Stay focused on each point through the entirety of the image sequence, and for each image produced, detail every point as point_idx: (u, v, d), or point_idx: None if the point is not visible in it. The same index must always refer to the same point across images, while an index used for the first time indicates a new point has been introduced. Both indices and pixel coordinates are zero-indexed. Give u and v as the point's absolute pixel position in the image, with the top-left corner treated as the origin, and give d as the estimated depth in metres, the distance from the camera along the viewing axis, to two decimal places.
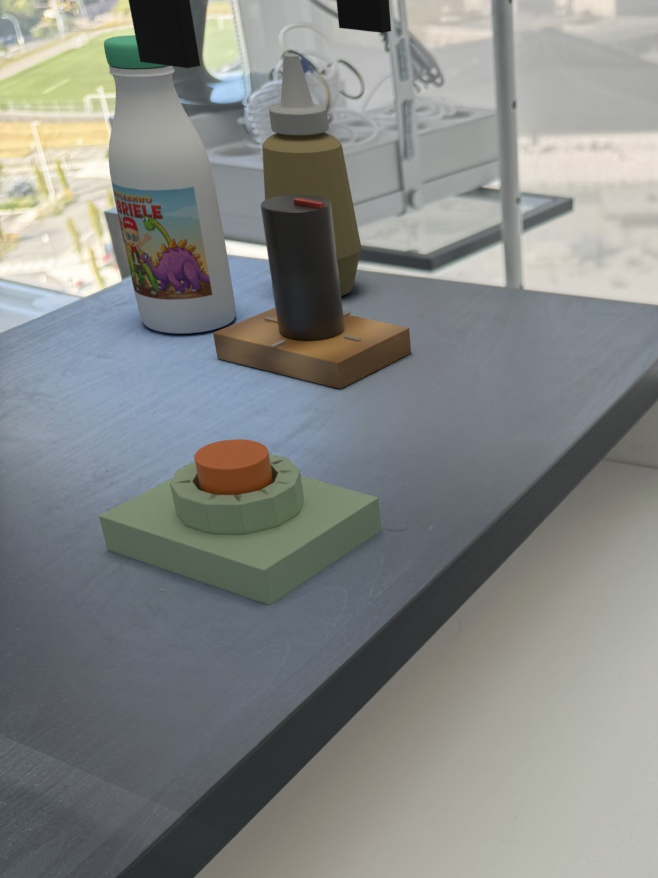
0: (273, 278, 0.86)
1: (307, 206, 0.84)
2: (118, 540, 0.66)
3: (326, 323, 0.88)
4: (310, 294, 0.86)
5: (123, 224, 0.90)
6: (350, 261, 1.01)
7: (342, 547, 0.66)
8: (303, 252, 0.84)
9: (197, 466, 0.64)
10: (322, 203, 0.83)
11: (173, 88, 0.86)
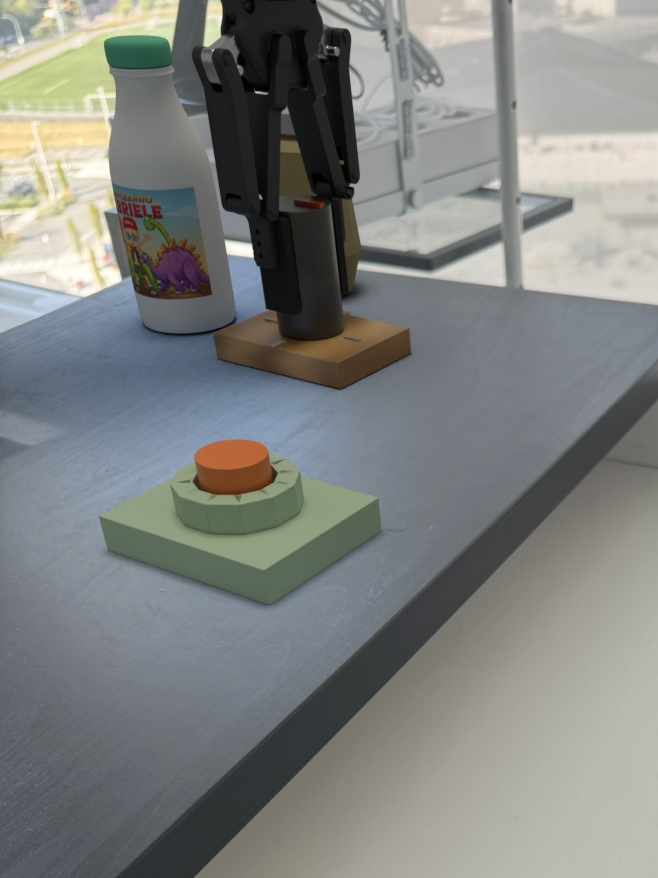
0: None
1: (307, 206, 0.84)
2: (118, 540, 0.66)
3: (326, 323, 0.88)
4: (310, 294, 0.86)
5: (123, 224, 0.90)
6: (350, 261, 1.01)
7: (342, 547, 0.66)
8: (303, 252, 0.84)
9: (197, 466, 0.64)
10: (322, 203, 0.83)
11: (173, 88, 0.86)
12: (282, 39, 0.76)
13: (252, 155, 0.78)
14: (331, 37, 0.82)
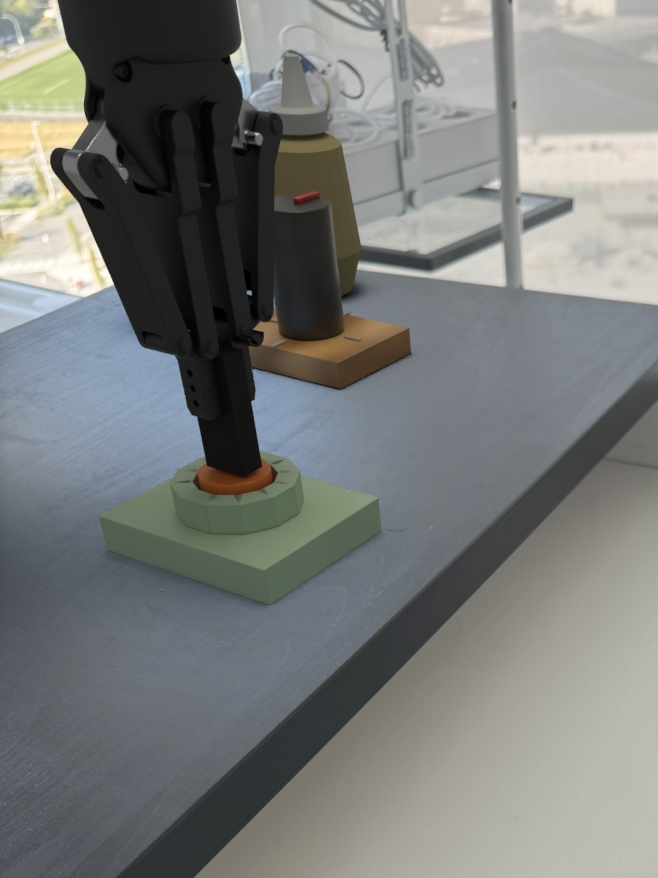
0: (318, 282, 0.86)
1: (312, 199, 0.85)
2: (118, 540, 0.66)
3: None
4: (339, 281, 0.89)
5: None
6: (350, 261, 1.01)
7: (342, 547, 0.66)
8: None
9: (200, 483, 0.64)
10: (315, 192, 0.86)
11: None
12: (176, 118, 0.52)
13: (165, 280, 0.55)
14: (254, 122, 0.58)
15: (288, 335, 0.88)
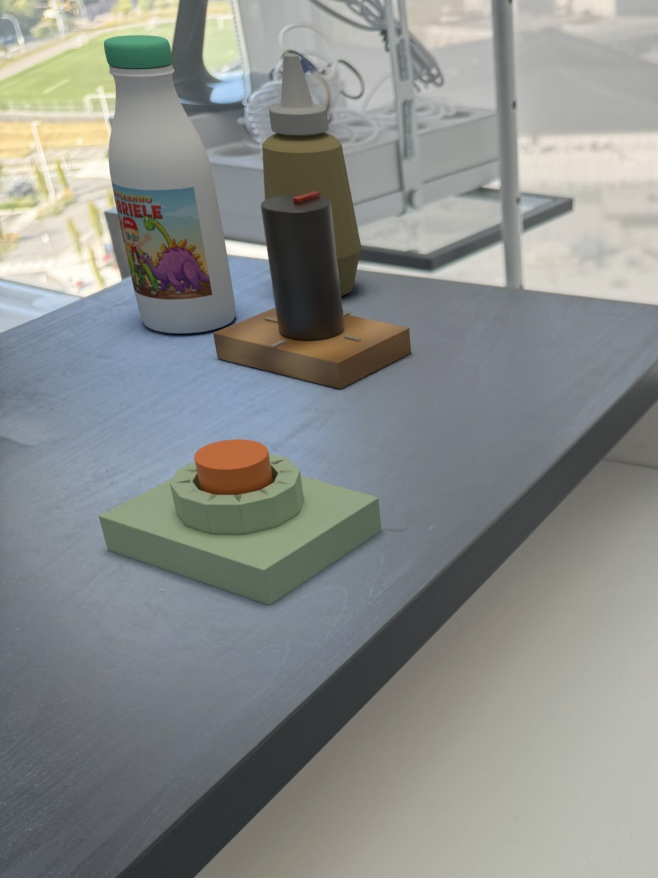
0: (318, 282, 0.86)
1: (312, 199, 0.85)
2: (118, 540, 0.66)
3: None
4: (339, 281, 0.89)
5: (123, 224, 0.90)
6: (350, 261, 1.01)
7: (342, 547, 0.66)
8: None
9: (197, 466, 0.64)
10: (315, 192, 0.86)
11: (173, 88, 0.86)
12: None
13: None
14: None
15: (288, 335, 0.88)
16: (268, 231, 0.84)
